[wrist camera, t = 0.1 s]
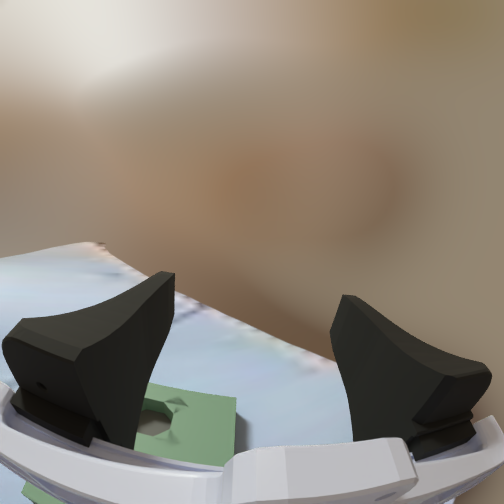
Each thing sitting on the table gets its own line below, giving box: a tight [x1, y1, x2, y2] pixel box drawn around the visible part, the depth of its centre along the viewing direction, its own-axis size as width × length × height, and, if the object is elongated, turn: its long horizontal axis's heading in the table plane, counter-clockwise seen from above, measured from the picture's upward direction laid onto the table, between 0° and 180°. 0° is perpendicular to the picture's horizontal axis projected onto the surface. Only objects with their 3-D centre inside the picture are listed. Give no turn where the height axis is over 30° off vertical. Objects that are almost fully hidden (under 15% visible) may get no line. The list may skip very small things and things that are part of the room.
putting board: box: [21, 383, 236, 504], centre depth 19 cm, size 20×18×2 cm
